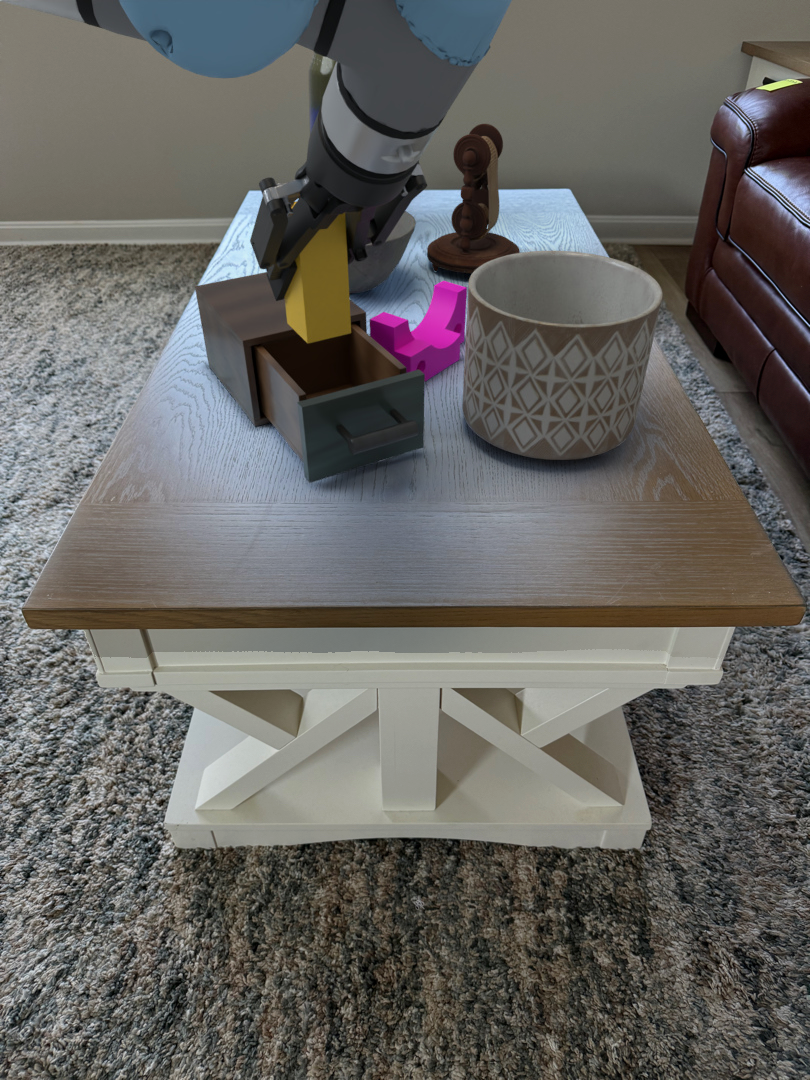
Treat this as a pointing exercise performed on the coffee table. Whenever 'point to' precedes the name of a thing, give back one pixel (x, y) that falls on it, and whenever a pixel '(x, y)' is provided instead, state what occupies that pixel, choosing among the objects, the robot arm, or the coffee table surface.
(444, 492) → the coffee table surface
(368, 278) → the bowl
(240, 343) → the cabinet
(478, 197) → the brown rounded piece
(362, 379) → the drawer
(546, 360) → the planter
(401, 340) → the toy block
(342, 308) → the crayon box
